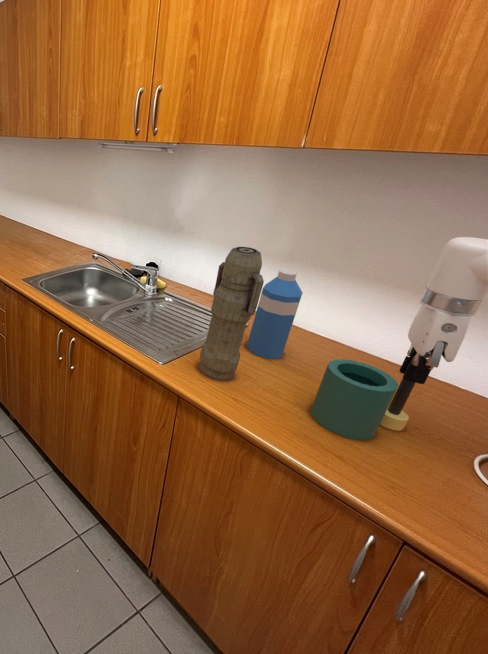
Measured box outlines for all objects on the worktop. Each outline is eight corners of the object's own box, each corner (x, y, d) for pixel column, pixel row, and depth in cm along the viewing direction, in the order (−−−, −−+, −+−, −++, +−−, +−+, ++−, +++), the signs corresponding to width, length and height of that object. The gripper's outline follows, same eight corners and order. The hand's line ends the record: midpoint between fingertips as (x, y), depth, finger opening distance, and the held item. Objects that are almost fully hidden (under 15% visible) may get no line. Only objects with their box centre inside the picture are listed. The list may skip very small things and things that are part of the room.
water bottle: (287, 361, 111) (315, 280, 101) (249, 355, 114) (272, 276, 104) (278, 344, 119) (302, 267, 109) (242, 339, 122) (263, 264, 112)
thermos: (209, 356, 114) (237, 240, 100) (247, 379, 104) (283, 254, 90) (186, 362, 111) (211, 244, 98) (221, 387, 101) (255, 260, 87)
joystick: (400, 420, 90) (434, 353, 83) (406, 434, 86) (442, 365, 79) (371, 412, 92) (401, 346, 85) (375, 425, 88) (408, 357, 81)
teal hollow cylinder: (369, 415, 91) (391, 369, 86) (379, 447, 83) (404, 398, 77) (308, 398, 97) (325, 353, 92) (312, 426, 88) (331, 379, 83)
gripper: (496, 322, 69) (448, 406, 76) (462, 290, 81) (424, 364, 88) (435, 312, 73) (396, 392, 80) (411, 282, 85) (379, 354, 92)
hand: (411, 377), depth 84 cm, fingers closed on joystick, 2 cm apart
